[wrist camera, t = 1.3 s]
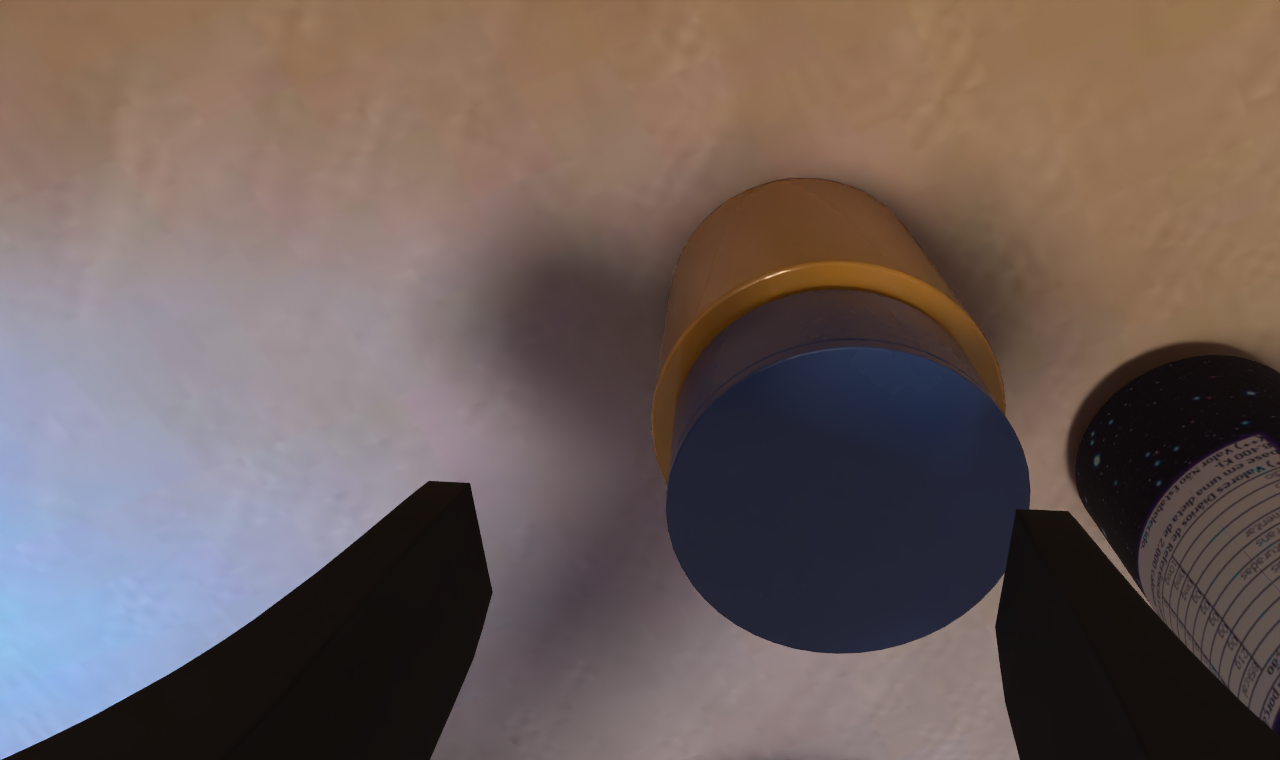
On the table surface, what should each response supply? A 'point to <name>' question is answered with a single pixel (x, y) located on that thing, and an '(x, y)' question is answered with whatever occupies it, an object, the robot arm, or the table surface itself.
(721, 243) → the jar
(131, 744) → the robot arm
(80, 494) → the table surface
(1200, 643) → the beverage can
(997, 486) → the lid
